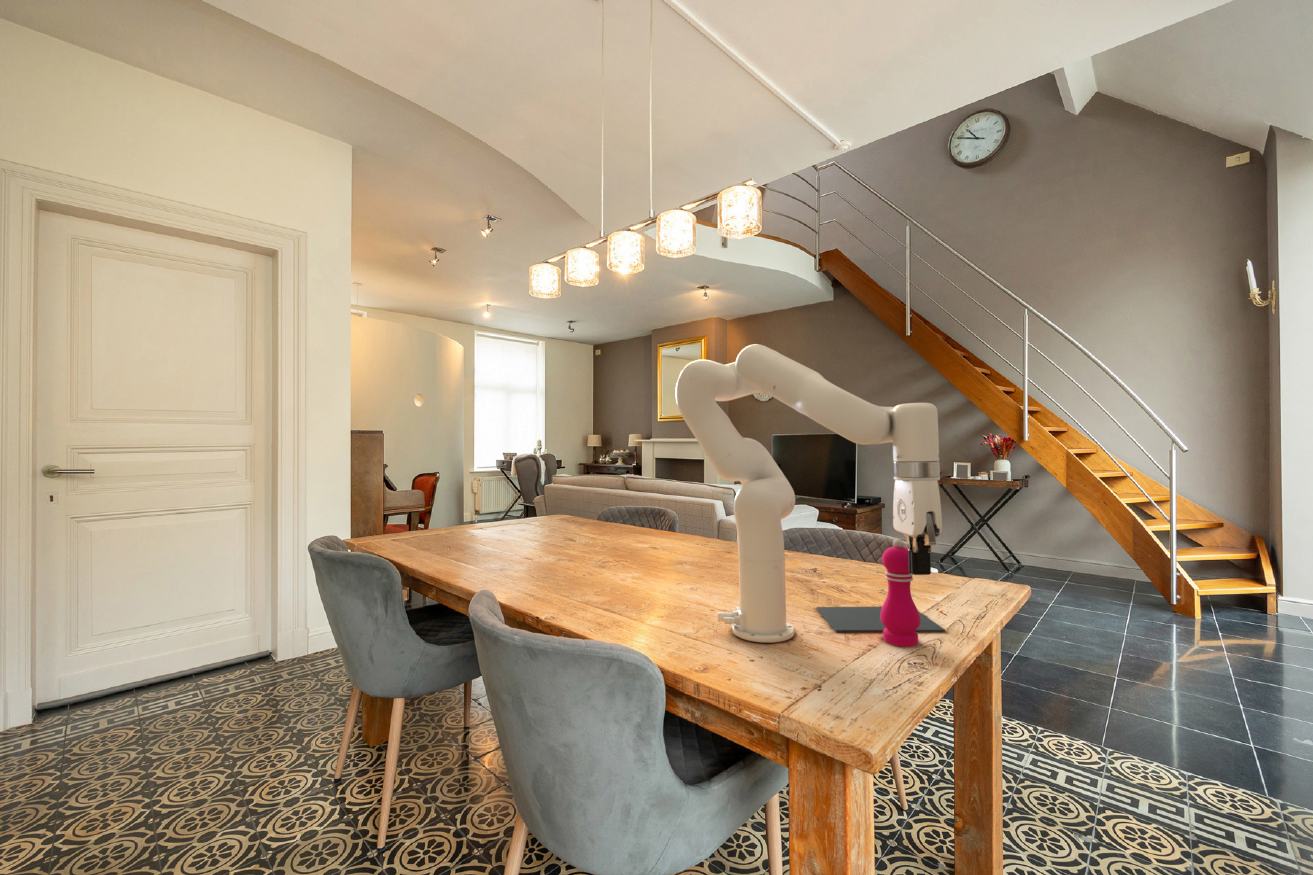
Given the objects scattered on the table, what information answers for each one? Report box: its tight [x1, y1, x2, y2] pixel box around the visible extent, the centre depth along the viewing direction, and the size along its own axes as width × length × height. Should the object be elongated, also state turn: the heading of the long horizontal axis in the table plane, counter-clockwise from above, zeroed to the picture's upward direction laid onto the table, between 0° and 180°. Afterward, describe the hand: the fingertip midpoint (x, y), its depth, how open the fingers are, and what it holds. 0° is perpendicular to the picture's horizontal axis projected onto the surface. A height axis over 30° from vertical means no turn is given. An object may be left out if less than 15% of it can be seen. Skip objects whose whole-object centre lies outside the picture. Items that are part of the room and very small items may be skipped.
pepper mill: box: [880, 538, 921, 648], centre depth 105 cm, size 7×7×20 cm
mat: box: [816, 606, 946, 633], centre depth 118 cm, size 22×16×1 cm
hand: (919, 573), depth 96 cm, fingers closed
